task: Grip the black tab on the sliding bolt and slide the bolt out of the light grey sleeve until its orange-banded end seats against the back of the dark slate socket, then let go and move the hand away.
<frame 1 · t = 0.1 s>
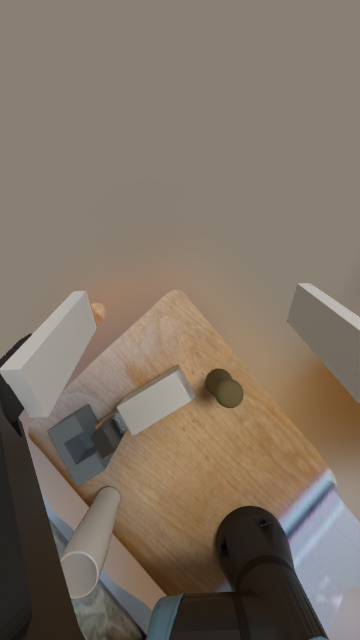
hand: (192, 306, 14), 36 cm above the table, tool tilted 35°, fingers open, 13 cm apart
sliding bolt: (137, 414, 41), point 7 cm above the table, slide at 0.0 cm
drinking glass: (109, 497, 47), on the table
olive knob-topped post: (218, 381, 49), on the table
socket: (93, 432, 47), on the table
sleeve: (159, 392, 48), on the table
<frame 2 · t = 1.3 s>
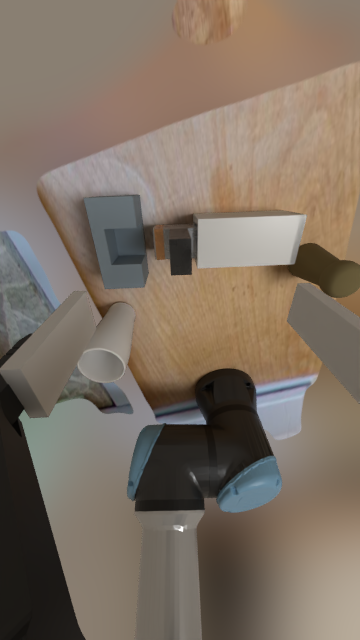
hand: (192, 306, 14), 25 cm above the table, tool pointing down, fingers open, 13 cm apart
sliding bolt: (220, 244, 28), point 7 cm above the table, slide at 0.0 cm
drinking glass: (123, 312, 42), on the table
olive knob-topped post: (304, 260, 38), on the table
socket: (132, 237, 35), on the table
sleeve: (235, 233, 35), on the table
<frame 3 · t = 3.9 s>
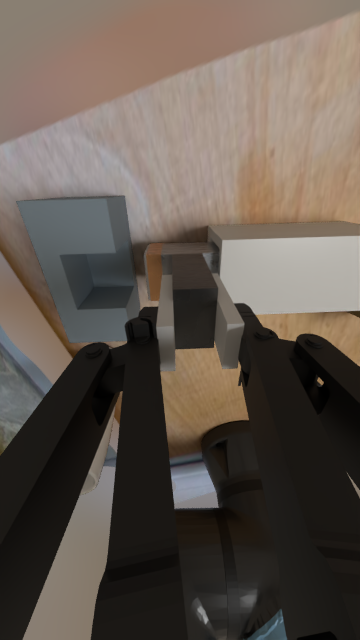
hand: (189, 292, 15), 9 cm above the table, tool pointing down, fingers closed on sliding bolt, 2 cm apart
sliding bolt: (257, 281, 17), point 7 cm above the table, slide at 0.0 cm, touching gripper
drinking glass: (105, 357, 30), on the table
socket: (115, 260, 23), on the table
sleeve: (270, 255, 23), on the table
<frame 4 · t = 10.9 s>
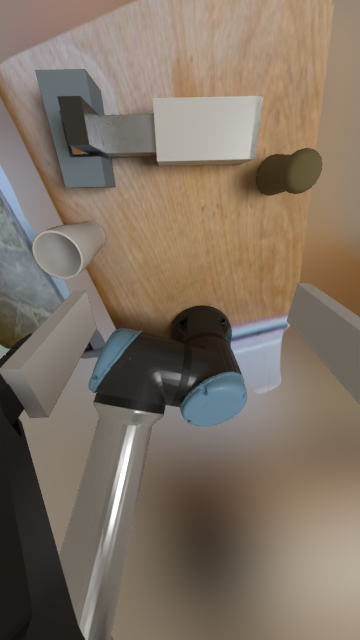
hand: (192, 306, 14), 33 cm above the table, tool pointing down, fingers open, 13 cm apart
sliding bolt: (132, 131, 28), point 7 cm above the table, slide at 6.0 cm
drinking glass: (92, 235, 42), on the table
olive knob-topped post: (272, 175, 38), on the table
socket: (96, 143, 34), on the table
sleeve: (200, 140, 35), on the table
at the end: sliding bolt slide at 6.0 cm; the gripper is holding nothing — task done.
